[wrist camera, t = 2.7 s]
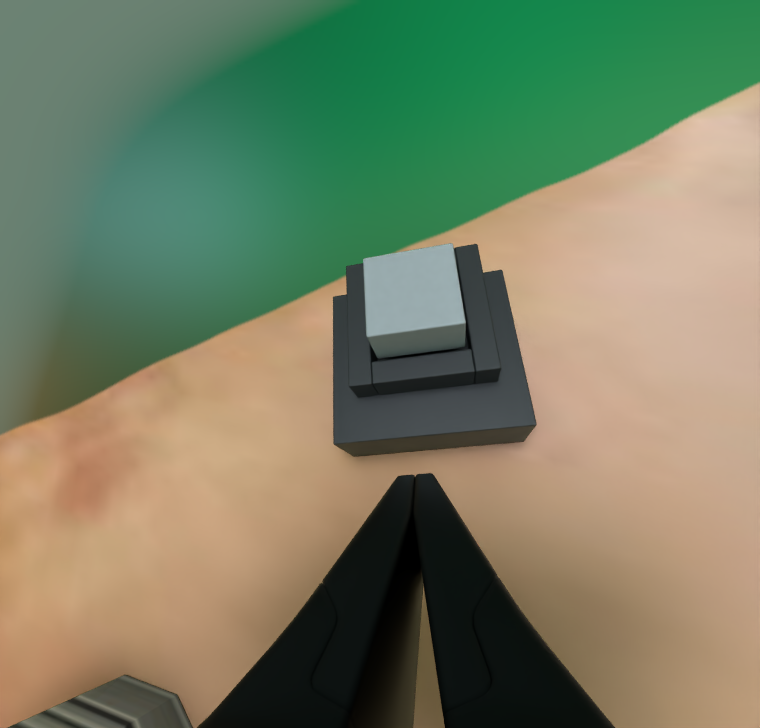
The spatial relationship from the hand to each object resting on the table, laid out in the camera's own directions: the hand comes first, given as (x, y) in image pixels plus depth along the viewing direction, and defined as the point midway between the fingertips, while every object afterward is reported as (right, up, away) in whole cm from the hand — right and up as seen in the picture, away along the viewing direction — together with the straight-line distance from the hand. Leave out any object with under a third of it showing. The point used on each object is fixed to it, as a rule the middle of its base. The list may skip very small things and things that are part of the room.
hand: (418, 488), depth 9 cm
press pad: (+1, +6, +11) cm, 12 cm away
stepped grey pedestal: (+2, +2, +15) cm, 15 cm away
